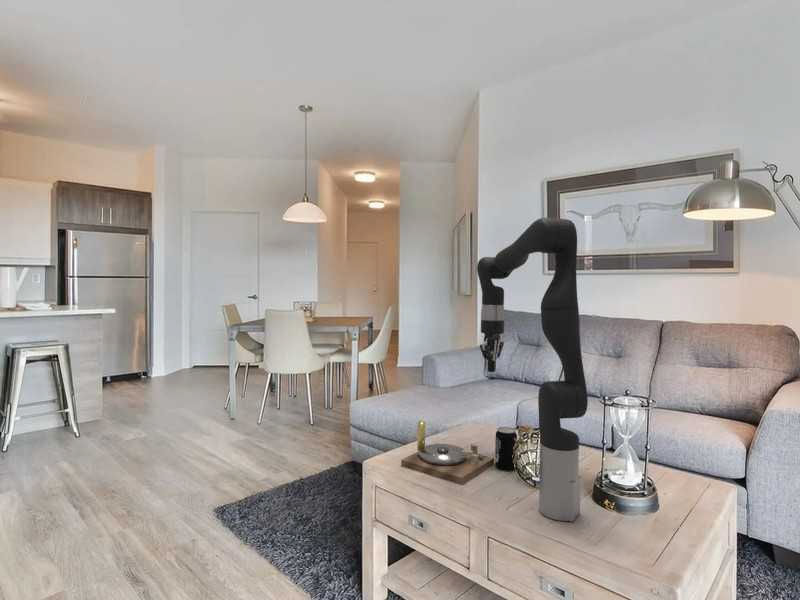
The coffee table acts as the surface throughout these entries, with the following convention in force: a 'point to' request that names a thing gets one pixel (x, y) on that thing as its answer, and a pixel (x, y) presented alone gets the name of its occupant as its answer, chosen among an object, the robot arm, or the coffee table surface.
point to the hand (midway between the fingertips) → (491, 371)
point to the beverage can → (505, 448)
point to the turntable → (452, 466)
